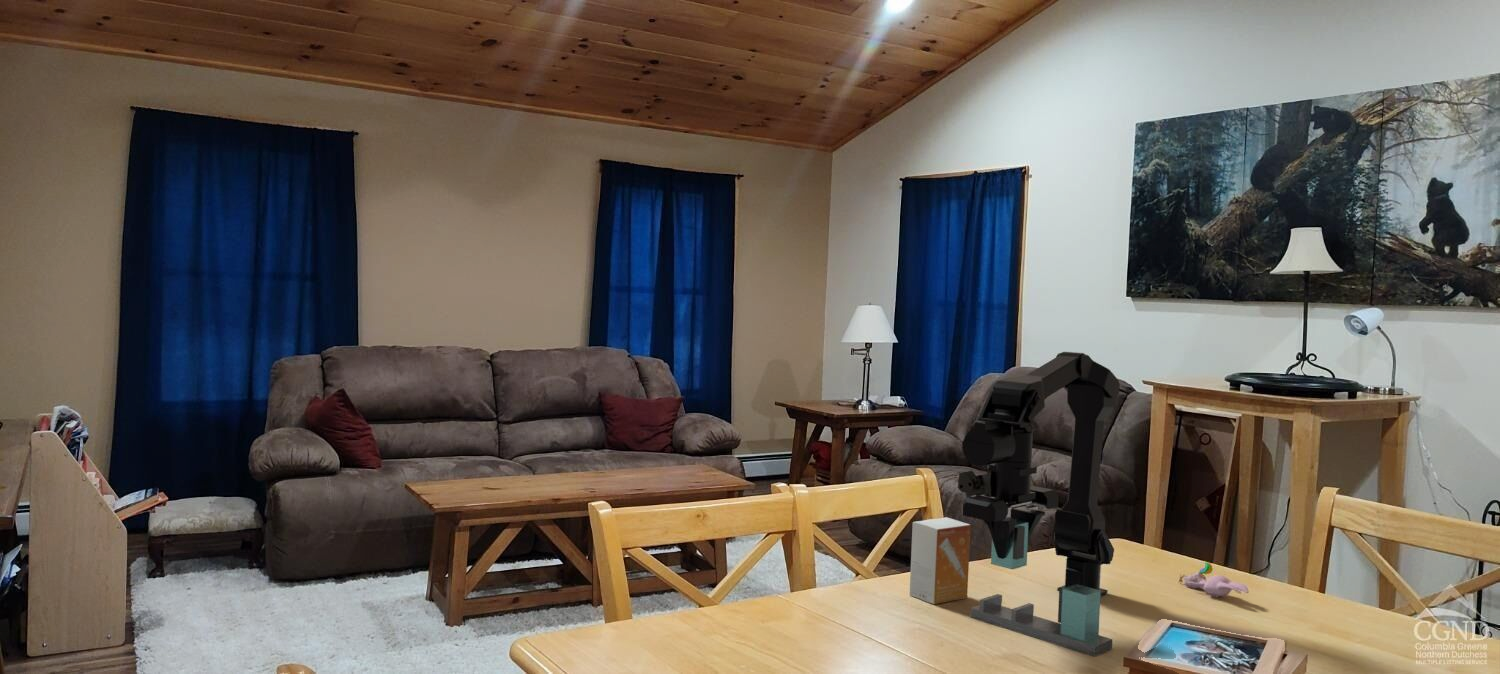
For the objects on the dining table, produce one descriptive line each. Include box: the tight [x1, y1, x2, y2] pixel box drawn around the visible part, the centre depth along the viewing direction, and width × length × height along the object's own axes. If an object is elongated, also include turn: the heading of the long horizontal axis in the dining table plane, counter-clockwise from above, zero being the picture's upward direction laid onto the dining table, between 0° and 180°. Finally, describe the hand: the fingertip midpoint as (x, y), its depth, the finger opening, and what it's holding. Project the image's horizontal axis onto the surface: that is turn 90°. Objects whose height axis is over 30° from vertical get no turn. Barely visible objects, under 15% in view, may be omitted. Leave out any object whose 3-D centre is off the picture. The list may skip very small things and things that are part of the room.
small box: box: [909, 516, 972, 605], centre depth 176 cm, size 8×6×13 cm
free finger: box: [990, 520, 1029, 570], centre depth 163 cm, size 4×5×7 cm
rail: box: [970, 584, 1113, 657], centre depth 159 cm, size 5×22×8 cm, turn 42°
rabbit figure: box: [1178, 561, 1250, 598], centre depth 182 cm, size 6×6×15 cm
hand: (1009, 556), depth 163 cm, fingers closed on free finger, 4 cm apart
